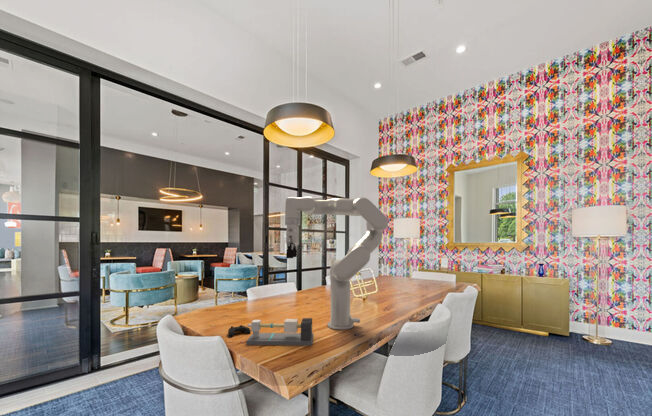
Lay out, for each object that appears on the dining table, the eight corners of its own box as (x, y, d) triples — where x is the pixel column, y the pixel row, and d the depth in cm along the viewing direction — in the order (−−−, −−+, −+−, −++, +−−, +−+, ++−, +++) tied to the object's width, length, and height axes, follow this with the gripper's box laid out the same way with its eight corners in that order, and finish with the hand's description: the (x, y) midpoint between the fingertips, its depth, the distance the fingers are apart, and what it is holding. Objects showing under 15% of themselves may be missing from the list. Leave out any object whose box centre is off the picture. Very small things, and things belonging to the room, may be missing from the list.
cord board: (313, 336, 123) (313, 317, 124) (311, 345, 113) (311, 324, 114) (250, 336, 124) (251, 316, 125) (243, 344, 114) (244, 323, 115)
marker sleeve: (297, 329, 121) (297, 319, 121) (296, 332, 117) (296, 321, 117) (285, 329, 121) (285, 319, 121) (284, 332, 117) (284, 321, 117)
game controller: (230, 336, 122) (227, 323, 126) (226, 343, 124) (224, 330, 128) (251, 332, 127) (248, 320, 131) (248, 338, 130) (245, 326, 134)
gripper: (297, 221, 133) (296, 258, 131) (302, 223, 150) (301, 256, 148) (281, 221, 133) (280, 258, 131) (288, 223, 151) (287, 256, 149)
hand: (291, 257), depth 140 cm, fingers open, 9 cm apart
